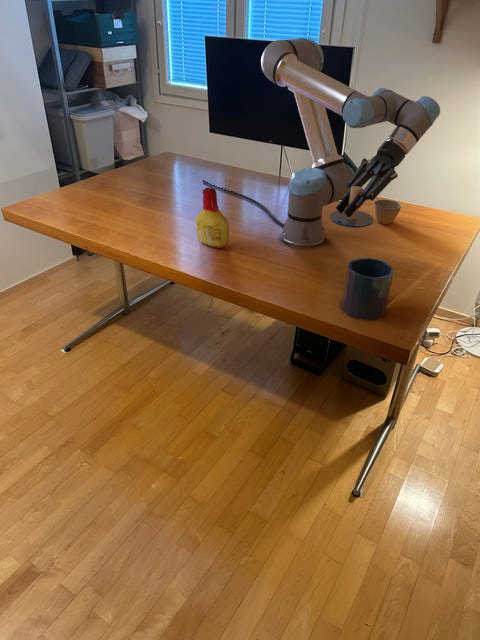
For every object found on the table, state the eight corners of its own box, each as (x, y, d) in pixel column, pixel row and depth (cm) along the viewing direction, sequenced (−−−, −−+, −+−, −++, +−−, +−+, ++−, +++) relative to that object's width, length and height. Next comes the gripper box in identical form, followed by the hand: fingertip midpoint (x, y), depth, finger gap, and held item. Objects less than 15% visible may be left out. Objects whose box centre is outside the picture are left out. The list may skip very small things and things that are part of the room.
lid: (321, 221, 143) (325, 188, 138) (343, 209, 151) (348, 177, 146) (359, 233, 136) (365, 198, 131) (380, 220, 144) (387, 187, 139)
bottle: (192, 244, 165) (190, 187, 154) (203, 237, 170) (201, 181, 159) (222, 252, 160) (221, 193, 149) (232, 245, 165) (232, 188, 154)
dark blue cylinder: (334, 308, 132) (339, 268, 125) (355, 292, 139) (362, 253, 132) (372, 324, 125) (380, 283, 118) (392, 307, 133) (401, 267, 126)
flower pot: (398, 228, 178) (402, 209, 174) (371, 225, 180) (374, 207, 176) (396, 218, 186) (400, 200, 182) (370, 216, 188) (373, 198, 184)
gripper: (421, 163, 134) (366, 229, 137) (381, 149, 146) (331, 210, 149) (411, 145, 129) (354, 215, 132) (371, 133, 141) (319, 196, 144)
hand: (342, 212), depth 140 cm, fingers closed on lid, 3 cm apart
